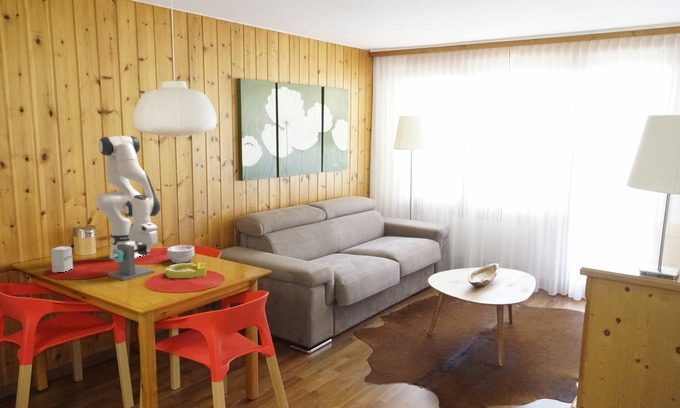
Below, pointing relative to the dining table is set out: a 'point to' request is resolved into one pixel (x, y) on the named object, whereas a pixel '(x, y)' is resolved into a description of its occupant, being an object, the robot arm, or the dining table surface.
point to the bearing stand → (128, 265)
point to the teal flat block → (120, 255)
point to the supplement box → (61, 259)
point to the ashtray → (186, 270)
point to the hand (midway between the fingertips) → (143, 250)
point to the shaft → (137, 250)
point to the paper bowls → (180, 253)
